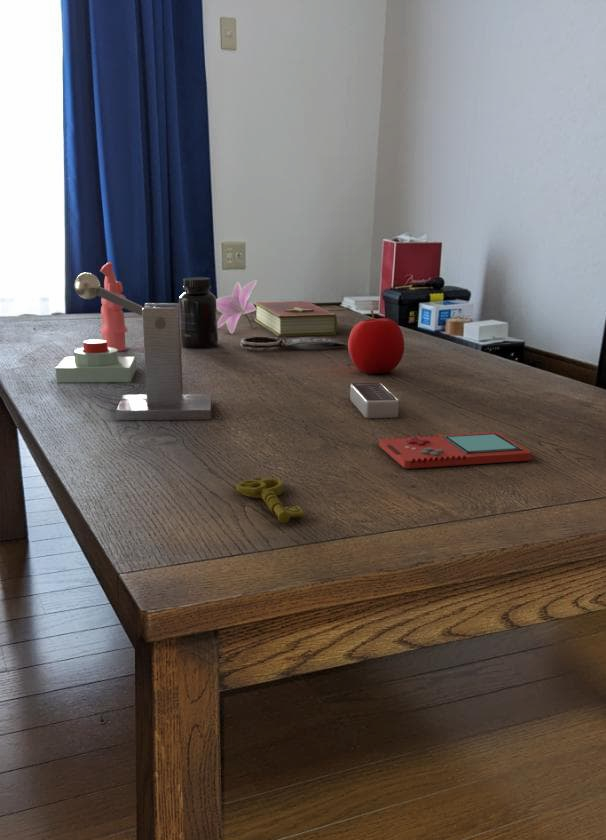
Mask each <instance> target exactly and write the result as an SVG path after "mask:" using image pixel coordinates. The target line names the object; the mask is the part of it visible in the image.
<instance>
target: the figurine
mask: <svg viewBox="0 0 606 840" xmlns="http://www.w3.org/2000/svg"><path fill="white" fill-rule="evenodd" d="M113 266H114V265H113V263H112V262H109V261H108V262H106V264H104V265H103V266H102V267H101V269H100V270H99V272H100V273H102V274H103V275H104V282H103V286H104V287H103V288H104V289H106V290H108V291H110V292H113V293H115V294H117V295H119V296H121V297H123V298H126V295H124V294H122V293H123V290H124V289H123V284H122V282H121V281H117V278H116V274H115V272H114V269H113ZM126 299H127V298H126ZM100 301H101V302H100V303H101V304H102V305H101V307H100V316H101V321H102V322H101V323H102V324H101V328H100V329H99V333H101V335H102V340H106V341H107V346H108V347H111V348H115V349H118V352H123V351H126V349H127V347H126V334H125V333H127V332H128V331H129V330H128V328H127V325H126V323H125V322H126V320H125V314H124V311H123V309H124V308H123V307H121V306H119V305H117V304H115V303H112V302H110V301H108V300H106V299H104V298H102V297H100Z"/></svg>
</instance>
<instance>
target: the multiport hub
mask: <svg viewBox="0 0 606 840" xmlns="http://www.w3.org/2000/svg"><path fill="white" fill-rule="evenodd" d="M349 400H350V402H351V403H352V404H353V405H354V406H355V408H357V410H358V411H359V412H360V413H361V414H362V416H363V417H364V418H365V419H393V418H395V419H396V418H398V417H399V404H400V400H399V399H398V398H397V397H396V396H395V395H394V394H393V393H392V392H391V391H390V390H389V389H387V388H386V387H385V385H383V384H382V383H381V382H353V383H350V393H349Z"/></svg>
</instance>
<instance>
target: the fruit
mask: <svg viewBox="0 0 606 840" xmlns="http://www.w3.org/2000/svg"><path fill="white" fill-rule="evenodd" d="M370 313H371V316H372V318H369V319H364V320H361V321H359V322H357V324H354V326H353V328H352V329H351V331H350V334H349V337H348V343H347V347H348V354H349V357H350V359H351V361H352V363H353V365H354V366H355V367H356V369H357V370H359V371H361V372H362V373H365V375H366V374H367V375H379V374H388V373H390V372H392V371H394V369H396V367H398V365H399V364H400V362H401V361H402V359H403V356H404V353H405V338H404V334H403V331H402V329H401V327H400V326H399V324H397V322H396V321H394V320H393V319H391V318H385V317H381V318H375V314H374V309H370Z"/></svg>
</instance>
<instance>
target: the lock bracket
mask: <svg viewBox="0 0 606 840" xmlns="http://www.w3.org/2000/svg"><path fill="white" fill-rule="evenodd" d="M155 306H158V307H155ZM141 317H142V319H141V321H142V335H143V354H144V372H145V389H146V394H123V395H122V397H121V399H120V401H119V404H118V406H117V408H116V410H115V416H116V417H115V418H116V421H201V420H202V421H203V420H204V421H205V420H206V421H210V420H211V419H212V403H213V399H212V393H184V387H183V384H184V383H183V365H182V364H183V363H182V362H183V361H182V343H181V330H180V310H179V302H145V303H144V306H143V308H142V316H141Z"/></svg>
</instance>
